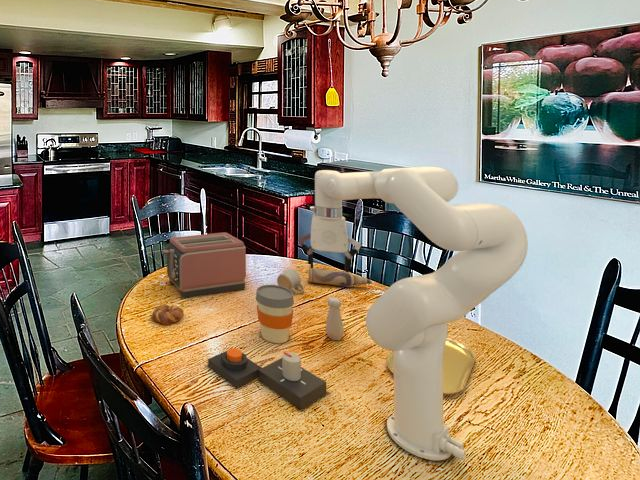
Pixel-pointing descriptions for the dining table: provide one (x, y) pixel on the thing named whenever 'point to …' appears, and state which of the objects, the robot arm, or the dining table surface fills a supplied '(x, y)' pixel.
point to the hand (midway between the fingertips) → (328, 268)
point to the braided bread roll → (167, 314)
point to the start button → (234, 355)
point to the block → (234, 369)
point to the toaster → (206, 264)
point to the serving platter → (450, 366)
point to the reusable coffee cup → (275, 312)
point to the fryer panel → (293, 384)
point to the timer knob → (291, 366)
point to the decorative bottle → (335, 277)
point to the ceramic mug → (290, 280)
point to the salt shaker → (334, 319)
